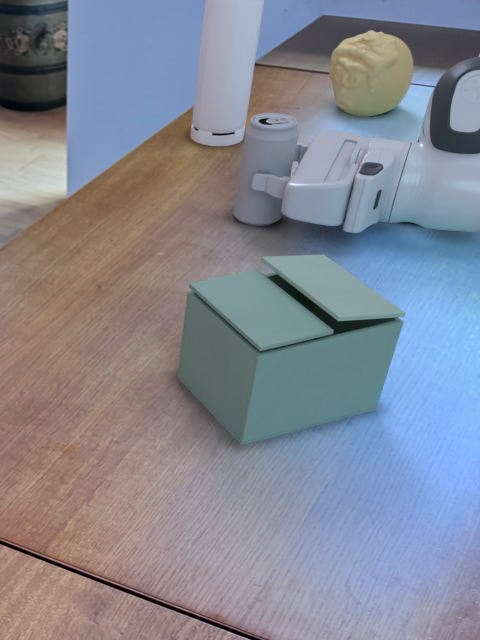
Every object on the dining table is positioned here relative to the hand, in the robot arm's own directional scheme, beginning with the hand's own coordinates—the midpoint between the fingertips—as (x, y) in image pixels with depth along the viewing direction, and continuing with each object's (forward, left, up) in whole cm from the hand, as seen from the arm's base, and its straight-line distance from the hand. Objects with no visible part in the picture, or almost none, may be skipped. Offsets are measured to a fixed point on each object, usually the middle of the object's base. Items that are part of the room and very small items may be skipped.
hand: (262, 165), depth 115 cm
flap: (-28, +30, +4) cm, 41 cm away
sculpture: (+11, -45, -7) cm, 47 cm away
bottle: (+21, -20, -7) cm, 30 cm away
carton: (-27, +33, -7) cm, 43 cm away
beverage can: (-1, 0, -7) cm, 7 cm away
